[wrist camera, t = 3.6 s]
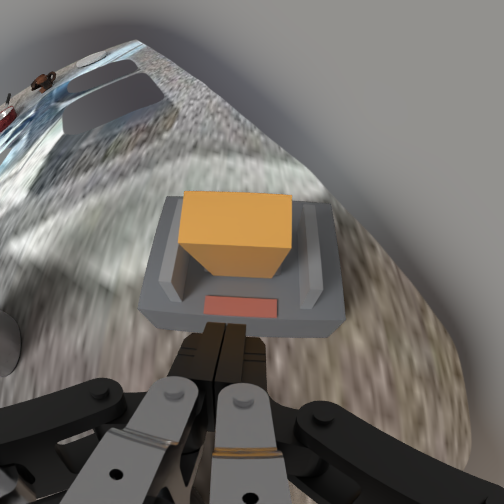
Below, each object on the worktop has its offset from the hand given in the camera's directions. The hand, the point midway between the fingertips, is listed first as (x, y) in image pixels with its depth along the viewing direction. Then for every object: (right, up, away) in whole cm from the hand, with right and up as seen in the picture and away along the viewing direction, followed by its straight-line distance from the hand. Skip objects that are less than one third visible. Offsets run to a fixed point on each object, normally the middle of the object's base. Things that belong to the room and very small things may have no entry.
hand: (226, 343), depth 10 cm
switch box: (0, +1, +21) cm, 21 cm away
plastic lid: (-68, +86, +72) cm, 131 cm away
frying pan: (-94, +55, +52) cm, 121 cm away
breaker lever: (0, +2, +15) cm, 15 cm away
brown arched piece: (-82, +69, +61) cm, 123 cm away
